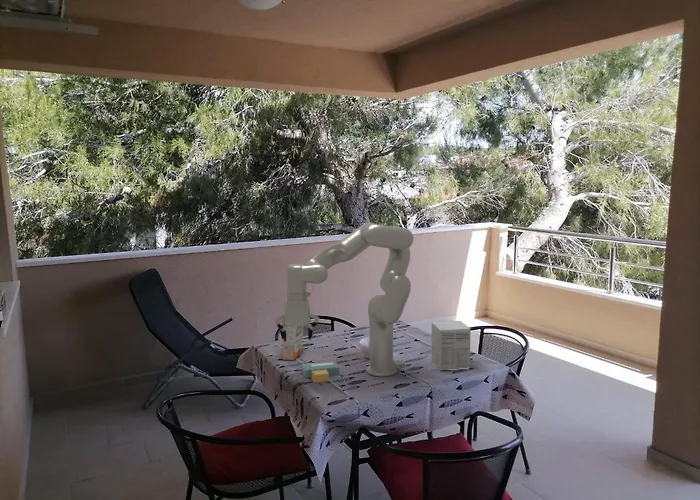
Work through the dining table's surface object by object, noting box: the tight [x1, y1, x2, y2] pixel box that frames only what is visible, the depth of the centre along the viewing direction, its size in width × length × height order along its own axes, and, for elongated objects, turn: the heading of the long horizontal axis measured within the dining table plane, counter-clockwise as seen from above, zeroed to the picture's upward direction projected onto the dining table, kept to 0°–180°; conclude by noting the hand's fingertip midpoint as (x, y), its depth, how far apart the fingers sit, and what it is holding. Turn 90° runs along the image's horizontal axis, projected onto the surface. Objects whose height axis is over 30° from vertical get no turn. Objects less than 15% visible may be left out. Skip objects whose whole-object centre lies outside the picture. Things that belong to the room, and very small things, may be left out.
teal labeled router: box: [301, 360, 340, 379], centre depth 220 cm, size 14×8×3 cm, turn 104°
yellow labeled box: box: [311, 370, 330, 384], centre depth 213 cm, size 6×5×3 cm
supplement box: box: [431, 320, 472, 371], centre depth 226 cm, size 13×13×18 cm
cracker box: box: [281, 312, 304, 361], centre depth 241 cm, size 14×6×21 cm, turn 168°
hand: (297, 339), depth 209 cm, fingers open, 9 cm apart
